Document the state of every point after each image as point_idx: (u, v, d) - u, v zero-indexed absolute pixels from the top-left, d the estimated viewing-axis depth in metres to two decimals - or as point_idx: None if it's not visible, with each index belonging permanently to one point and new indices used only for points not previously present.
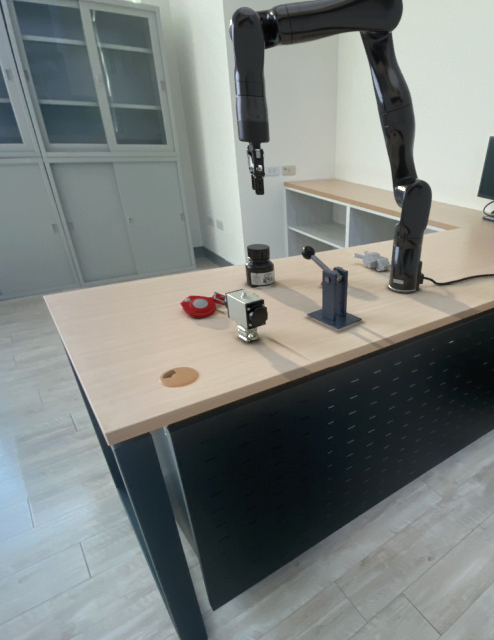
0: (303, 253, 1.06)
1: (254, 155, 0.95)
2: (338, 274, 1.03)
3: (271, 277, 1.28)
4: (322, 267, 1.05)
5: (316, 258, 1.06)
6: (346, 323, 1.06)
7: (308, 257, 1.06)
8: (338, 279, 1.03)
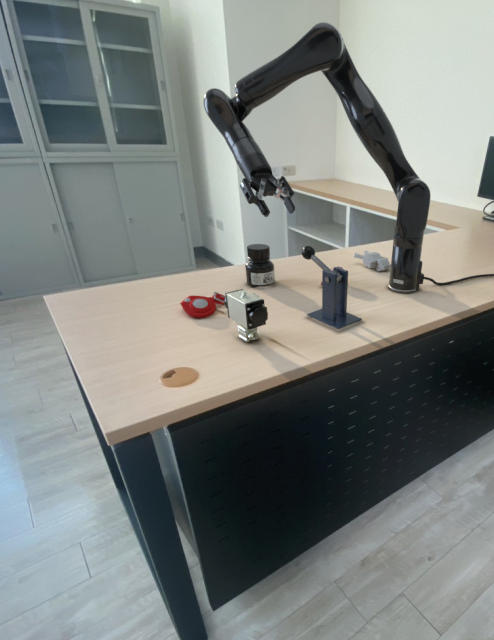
0: (303, 253, 1.06)
1: (241, 188, 1.05)
2: (338, 274, 1.03)
3: (271, 277, 1.28)
4: (322, 267, 1.05)
5: (316, 258, 1.06)
6: (346, 323, 1.06)
7: (308, 257, 1.06)
8: (338, 279, 1.03)
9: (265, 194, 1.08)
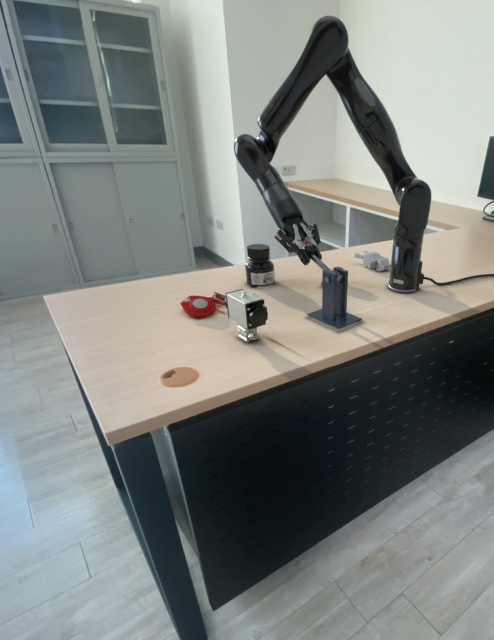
0: None
1: (278, 240, 1.04)
2: (338, 274, 1.03)
3: (271, 277, 1.28)
4: (322, 267, 1.05)
5: (316, 258, 1.06)
6: (346, 323, 1.06)
7: None
8: (338, 279, 1.03)
9: None
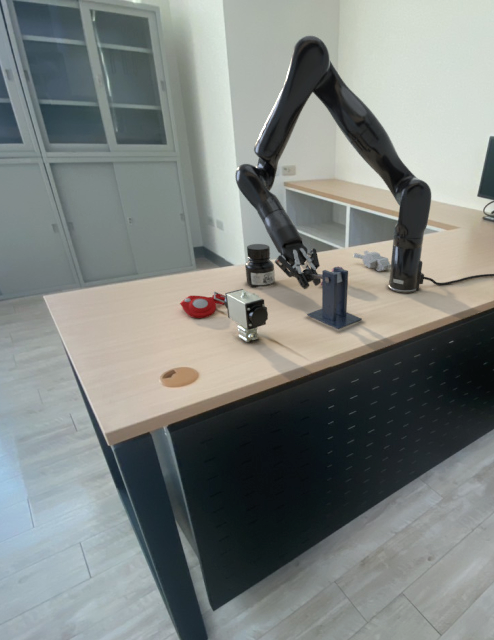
0: None
1: (278, 265, 1.08)
2: (336, 272, 1.03)
3: (271, 277, 1.28)
4: (321, 277, 1.06)
5: (314, 274, 1.09)
6: (346, 323, 1.06)
7: (308, 277, 1.10)
8: (337, 276, 1.03)
9: None
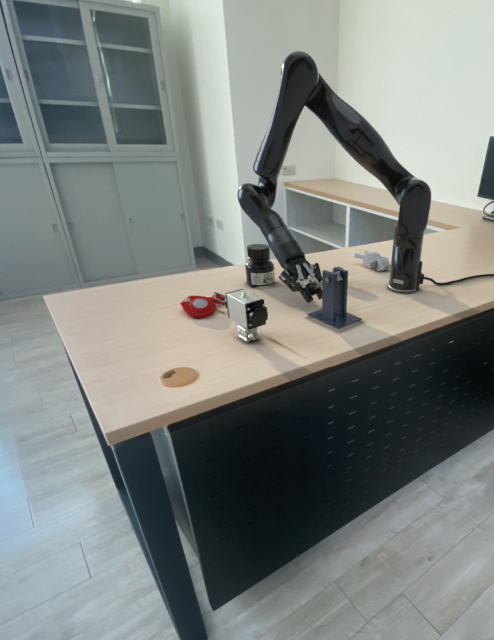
0: None
1: (282, 280, 1.09)
2: None
3: (271, 277, 1.28)
4: None
5: (316, 284, 1.10)
6: (346, 323, 1.06)
7: (311, 289, 1.11)
8: (337, 274, 1.03)
9: None
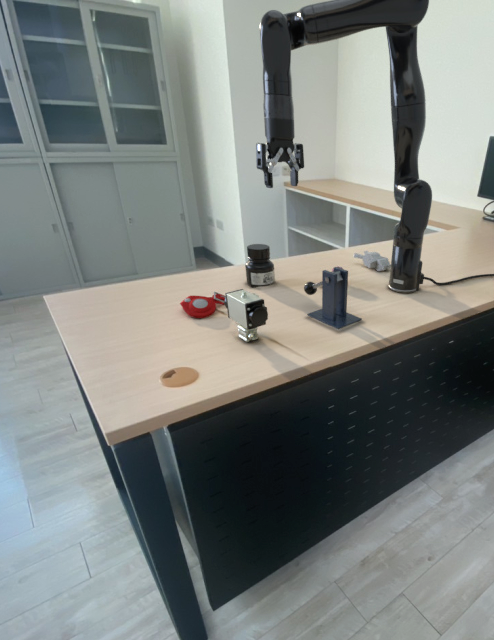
0: (305, 289, 1.11)
1: (256, 149, 1.02)
2: None
3: (271, 277, 1.28)
4: None
5: None
6: (346, 323, 1.06)
7: (311, 289, 1.10)
8: (337, 274, 1.03)
9: None
